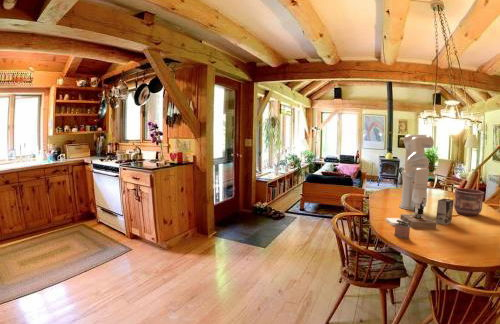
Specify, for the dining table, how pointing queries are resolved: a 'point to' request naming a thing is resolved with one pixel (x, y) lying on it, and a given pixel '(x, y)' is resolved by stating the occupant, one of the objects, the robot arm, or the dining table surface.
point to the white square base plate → (392, 221)
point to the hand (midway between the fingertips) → (418, 212)
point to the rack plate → (418, 221)
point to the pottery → (468, 201)
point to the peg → (417, 211)
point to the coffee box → (444, 211)
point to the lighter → (402, 229)
